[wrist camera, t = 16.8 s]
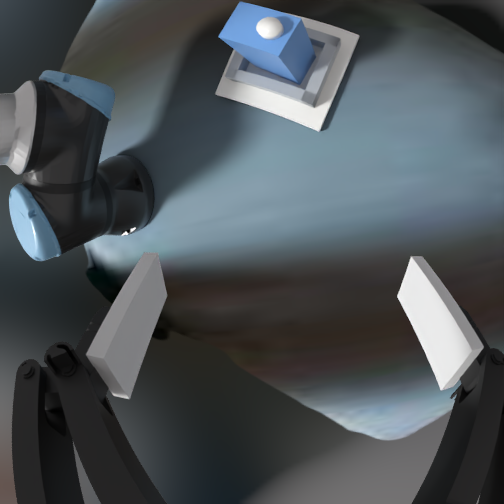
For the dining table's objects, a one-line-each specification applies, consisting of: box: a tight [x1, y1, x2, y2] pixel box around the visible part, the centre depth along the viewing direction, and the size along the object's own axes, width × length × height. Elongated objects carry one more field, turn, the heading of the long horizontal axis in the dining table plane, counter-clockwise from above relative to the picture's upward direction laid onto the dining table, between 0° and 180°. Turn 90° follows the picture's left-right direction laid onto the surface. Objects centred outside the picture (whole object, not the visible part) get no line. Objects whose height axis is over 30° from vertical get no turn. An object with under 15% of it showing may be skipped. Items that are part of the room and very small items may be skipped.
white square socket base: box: [215, 13, 359, 132], centre depth 30 cm, size 16×16×4 cm
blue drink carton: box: [219, 2, 316, 85], centre depth 25 cm, size 7×5×13 cm
